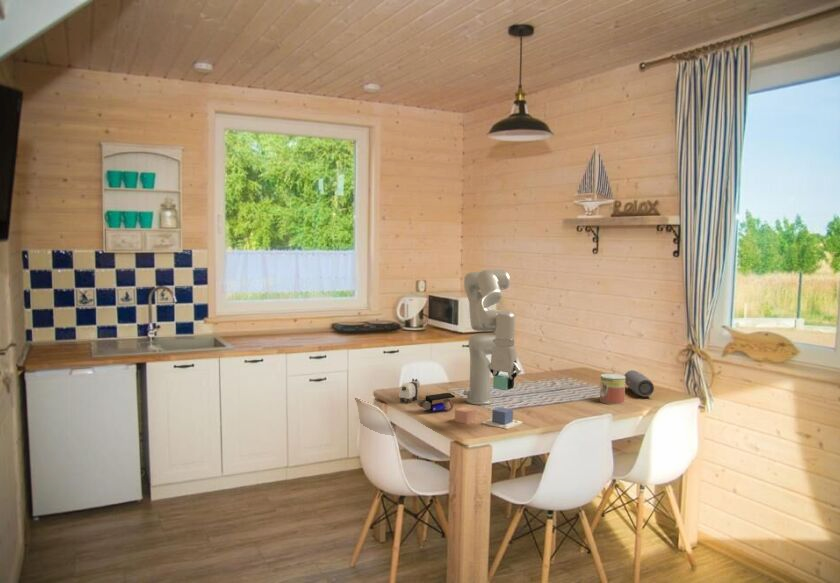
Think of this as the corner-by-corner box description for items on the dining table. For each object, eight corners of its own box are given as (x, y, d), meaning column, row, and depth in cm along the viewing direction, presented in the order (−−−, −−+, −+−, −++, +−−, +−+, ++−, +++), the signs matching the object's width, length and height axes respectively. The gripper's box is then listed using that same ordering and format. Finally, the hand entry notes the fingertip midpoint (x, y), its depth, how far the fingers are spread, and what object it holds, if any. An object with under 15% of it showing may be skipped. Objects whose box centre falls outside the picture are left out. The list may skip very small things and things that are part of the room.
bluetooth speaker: (622, 388, 336) (622, 369, 335) (640, 388, 336) (641, 369, 335) (635, 399, 313) (635, 378, 312) (654, 399, 313) (655, 378, 312)
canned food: (594, 399, 311) (595, 374, 310) (615, 397, 315) (616, 373, 314) (608, 405, 301) (609, 379, 300) (629, 403, 304) (630, 378, 303)
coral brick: (454, 421, 269) (455, 409, 269) (463, 418, 274) (463, 406, 274) (466, 424, 266) (466, 412, 265) (475, 421, 270) (475, 409, 270)
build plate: (481, 423, 267) (482, 410, 266) (498, 417, 276) (498, 404, 276) (507, 429, 259) (507, 415, 259) (522, 422, 268) (523, 409, 268)
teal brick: (493, 388, 266) (493, 376, 265) (501, 386, 270) (501, 374, 270) (505, 390, 262) (506, 378, 262) (513, 388, 267) (514, 376, 266)
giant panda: (408, 404, 296) (408, 383, 295) (397, 402, 298) (398, 382, 297) (423, 397, 308) (423, 377, 308) (413, 396, 311) (413, 376, 310)
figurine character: (425, 418, 278) (456, 411, 285) (423, 400, 278) (455, 394, 284) (418, 414, 285) (449, 407, 291) (417, 397, 284) (448, 390, 290)
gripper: (481, 341, 268) (480, 385, 269) (518, 346, 257) (517, 391, 258) (491, 339, 273) (490, 382, 275) (528, 344, 262) (526, 388, 264)
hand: (503, 386), depth 266 cm, fingers closed on teal brick, 6 cm apart
